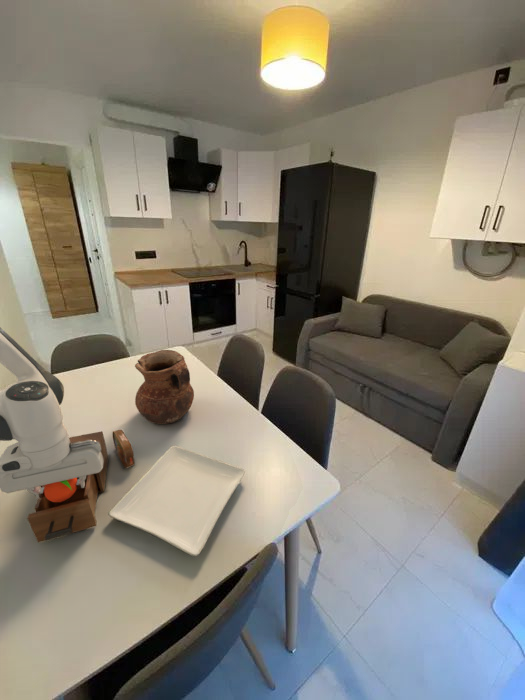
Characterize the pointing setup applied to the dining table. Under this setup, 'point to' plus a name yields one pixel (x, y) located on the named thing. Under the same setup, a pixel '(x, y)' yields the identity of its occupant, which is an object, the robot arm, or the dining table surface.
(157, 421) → the jug
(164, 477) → the square plate
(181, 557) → the dining table surface
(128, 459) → the tin
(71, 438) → the cabinet
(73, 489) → the clementine
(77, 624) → the dining table surface
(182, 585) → the dining table surface
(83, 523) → the drawer
